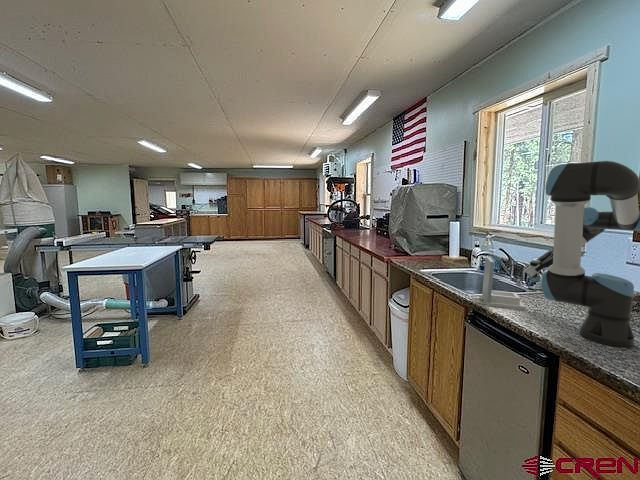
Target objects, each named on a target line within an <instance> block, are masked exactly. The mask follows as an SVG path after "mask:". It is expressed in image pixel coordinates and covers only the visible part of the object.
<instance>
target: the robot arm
mask: <svg viewBox="0 0 640 480" xmlns="http://www.w3.org/2000/svg"><path fill="white" fill-rule="evenodd" d="M545 182H546V183H545V194H546V195H547V196H549V197H550V202H552V203H553V204H554V205H555V211H554V214H555V216H554V230H553V231H554V234H553V247H551V249H549V250H548V251H547V252H545V253H544V254H543V255H540V257H537V258H536V260H539V261H541V262H539V264H538V265H537V266H535V267H533V268H532V269H531V265H529V266H528V267H526V268H525V269H523V271H524V272H525V273H526V274H527V275H528V276H529V275H530V276H531V277H532V276H534V275H535V274H537V273H538V272H539V271H540V272H541V271H542V270H544V269H546V270H544V271H543V273H542V275H541V278H542V279H541V280H542V281H541V290H542V292H543V295H544V297H545V298H546V299H548V300H551V301H555V302H559V303H564V304H565V303H566V304H571V305H577V306H582V307H587V308H588V309H587V316H586V317H585V318H584V320H583V322H582V323H581V326H580V327H579V334H580V336H582V337H583V338H585V339H587V340H590V341H592V342H595V343H598V344H603V345H607V346H612V347H618V348H619V347H620V348H632V347H633V346H635V345H634V344H635V335H634V332H633V329H632V326H631V315H632V307H633V301H634V300H633V299H634V297H635V294H634V293H635V285H634V283H633V282H631V281H630V280H628V279H626V278H623V277H619V276H616V275H611V274H607V273H599V272H593V274H592V275H586V270H585V269H584V268H583V267H582V266H581V261H582V247H585V246H586V244H587V243H589V242H590V241H591V240H593V239H594V238H596V237H597V236H599V235H600V234H603V233H604V232H605V230H614V231H615V230H619V231H631V232H634V231H635V232H637V231H638V232H640V208H639V199H638V198H639V197H638V193H639V192H640V177H639V176H638V174H637V173H636V172H635V171H634V170H633V169H631V168H630V167H628V166H627V165H624V164H622V163H619V162H615V161H611V160H600V161H599V160H598V161H582V162H580V161H579V162H565V163H558V164H555V165H554V166H553V167H552V168H551V169H550V171H549V172H548V175H547V178H546V181H545ZM591 196H605V197H606V198H608V199H609V202H610V206H611V207H610V208H611V210H612V211H608V210H607V211H605V210H603V211H602V210H599V211H598V210H597V209H596V208H594V207H591V206H590V207H589V206H586V204H587V203H589V202H590V201H591V198H592V197H591ZM585 206H586V207H585ZM540 272H539V273H540ZM537 275H538V274H537Z"/></svg>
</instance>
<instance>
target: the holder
mask: <svg viewBox="0 0 640 480" xmlns="http://www.w3.org/2000/svg"><path fill="white" fill-rule="evenodd" d="M494 269H495V261H494V260H493V259H492V258H491V257H490V256H485V258H484V271H483V280H482V281H483V282H482V291H481V293H482V295H481V297H482V298H483V300H484V303H485V305H486V306H488V307H495V306H496V307H497V308H503V307H504V308H505V309H513V310H522V311H523V310H524V311H525V310H526V305H524V304H523V303H522V301H521V298H520V296H519V295H518V294H517V293H516V292H512V291H511V292H510V291H503V290H493V279H494Z"/></svg>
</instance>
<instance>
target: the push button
mask: <svg viewBox="0 0 640 480" xmlns="http://www.w3.org/2000/svg"><path fill="white" fill-rule="evenodd" d="M539 262H541V261H539V260H535V259H532V260H531V261H529V266H531V269H532V268H533V267H535V266H537V265H538V264H539ZM540 272H541V271H539V272H538V273H537V274H535V275H534V276H532V277H531V276H530V275H528V281H531V282H542V276H541V274H540Z"/></svg>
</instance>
